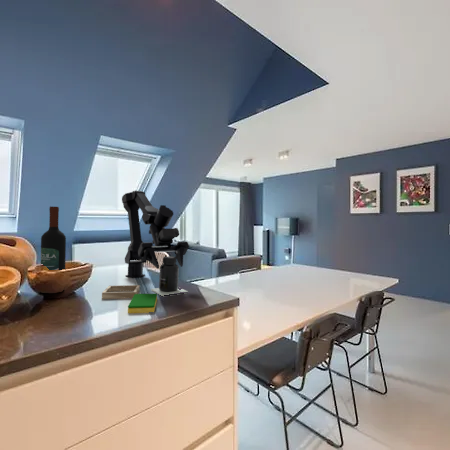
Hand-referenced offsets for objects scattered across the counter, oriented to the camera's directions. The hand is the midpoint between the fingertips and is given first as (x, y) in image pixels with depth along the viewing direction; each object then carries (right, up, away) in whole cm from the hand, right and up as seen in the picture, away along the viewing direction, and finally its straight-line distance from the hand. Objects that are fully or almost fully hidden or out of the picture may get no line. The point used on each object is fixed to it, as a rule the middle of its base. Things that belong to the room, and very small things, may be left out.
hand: (170, 267), depth 104 cm
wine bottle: (-41, -8, -3) cm, 42 cm away
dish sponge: (-5, -10, -17) cm, 20 cm away
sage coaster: (-1, -9, +1) cm, 9 cm away
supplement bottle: (-1, -9, +1) cm, 9 cm away
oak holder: (-16, -9, -5) cm, 19 cm away
